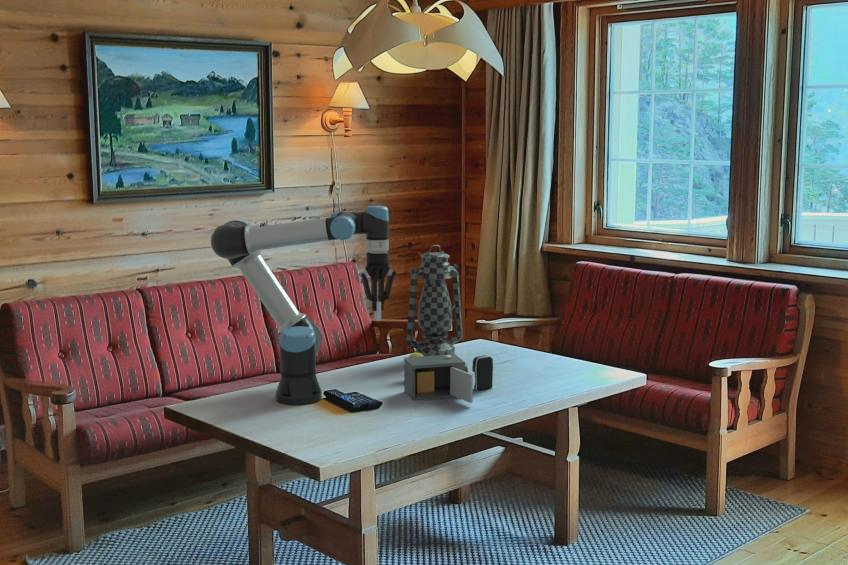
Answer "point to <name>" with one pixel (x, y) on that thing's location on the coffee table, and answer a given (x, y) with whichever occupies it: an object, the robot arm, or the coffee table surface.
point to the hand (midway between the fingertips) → (377, 320)
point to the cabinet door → (461, 384)
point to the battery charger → (483, 372)
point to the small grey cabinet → (430, 376)
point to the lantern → (434, 305)
